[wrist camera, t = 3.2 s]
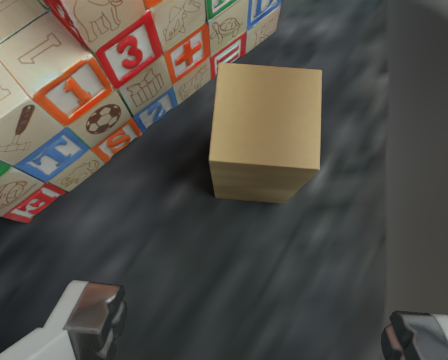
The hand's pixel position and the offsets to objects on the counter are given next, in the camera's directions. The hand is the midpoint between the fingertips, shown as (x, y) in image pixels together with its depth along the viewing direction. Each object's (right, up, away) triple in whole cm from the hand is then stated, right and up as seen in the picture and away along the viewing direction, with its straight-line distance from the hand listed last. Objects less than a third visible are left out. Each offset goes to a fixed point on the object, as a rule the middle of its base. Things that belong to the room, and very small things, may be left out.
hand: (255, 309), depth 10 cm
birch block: (+1, +5, +12) cm, 13 cm away
